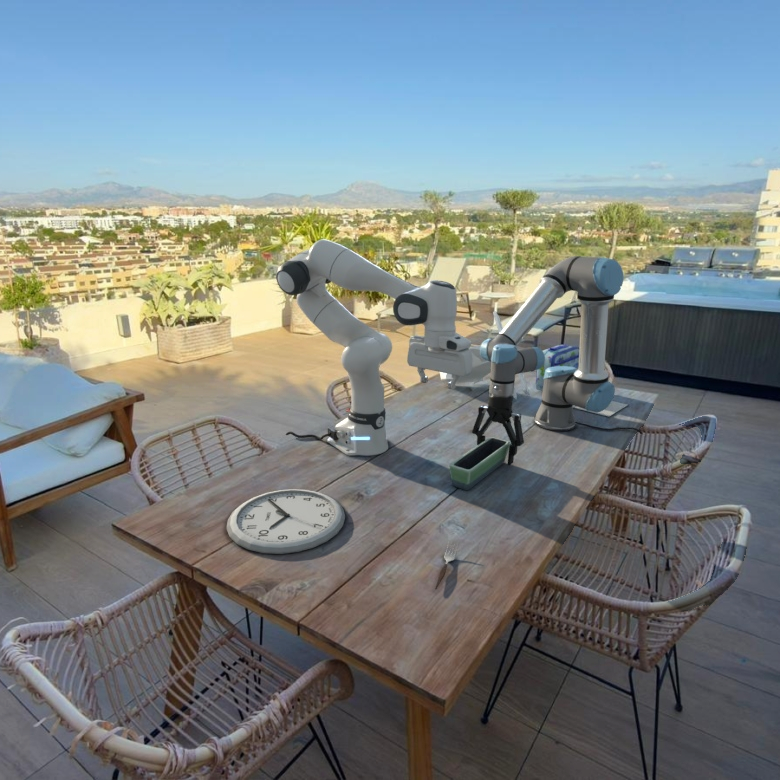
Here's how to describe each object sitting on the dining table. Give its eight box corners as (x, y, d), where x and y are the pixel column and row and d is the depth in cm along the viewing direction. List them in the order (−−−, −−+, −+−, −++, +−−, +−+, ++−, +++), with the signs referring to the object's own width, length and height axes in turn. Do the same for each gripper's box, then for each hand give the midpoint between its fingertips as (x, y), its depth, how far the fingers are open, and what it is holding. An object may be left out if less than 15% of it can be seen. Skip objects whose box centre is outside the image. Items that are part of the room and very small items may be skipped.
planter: (489, 456, 175) (490, 436, 173) (509, 462, 171) (511, 441, 169) (446, 486, 154) (448, 464, 152) (468, 494, 150) (470, 471, 148)
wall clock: (345, 545, 122) (213, 550, 119) (345, 551, 122) (214, 556, 120) (344, 484, 150) (238, 487, 148) (345, 490, 151) (239, 492, 148)
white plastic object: (461, 429, 252) (437, 405, 227) (444, 352, 274) (420, 323, 250) (535, 404, 240) (518, 377, 215) (510, 326, 262) (492, 293, 237)
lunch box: (552, 397, 237) (557, 352, 231) (531, 392, 245) (535, 348, 238) (579, 386, 255) (584, 344, 249) (558, 381, 262) (563, 340, 256)
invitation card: (608, 416, 214) (573, 407, 224) (608, 416, 214) (573, 408, 224) (628, 404, 229) (594, 396, 238) (628, 405, 229) (594, 397, 238)
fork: (429, 589, 110) (429, 581, 109) (447, 548, 124) (448, 541, 124) (441, 592, 109) (441, 584, 108) (458, 550, 123) (459, 543, 123)
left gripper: (403, 335, 153) (402, 381, 157) (465, 345, 141) (462, 394, 145) (415, 332, 157) (414, 376, 162) (476, 342, 146) (473, 389, 150)
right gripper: (463, 389, 167) (459, 454, 174) (530, 404, 154) (523, 472, 161) (474, 384, 173) (470, 446, 180) (539, 398, 160) (532, 464, 167)
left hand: (437, 385), depth 153 cm, fingers open, 8 cm apart
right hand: (495, 459), depth 170 cm, fingers open, 10 cm apart
